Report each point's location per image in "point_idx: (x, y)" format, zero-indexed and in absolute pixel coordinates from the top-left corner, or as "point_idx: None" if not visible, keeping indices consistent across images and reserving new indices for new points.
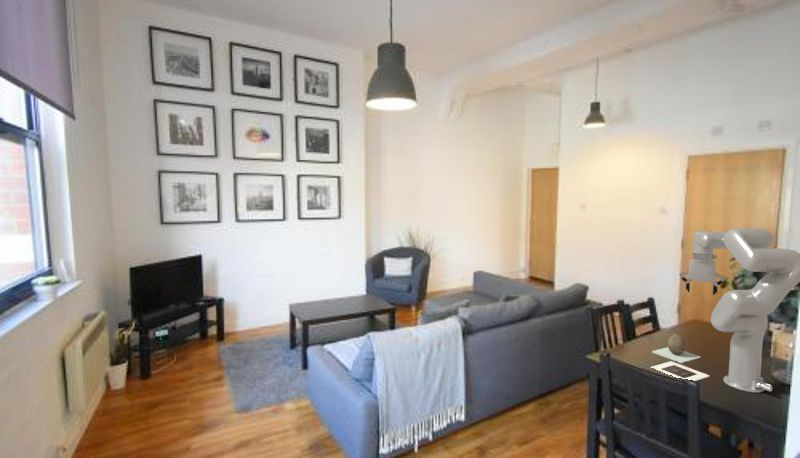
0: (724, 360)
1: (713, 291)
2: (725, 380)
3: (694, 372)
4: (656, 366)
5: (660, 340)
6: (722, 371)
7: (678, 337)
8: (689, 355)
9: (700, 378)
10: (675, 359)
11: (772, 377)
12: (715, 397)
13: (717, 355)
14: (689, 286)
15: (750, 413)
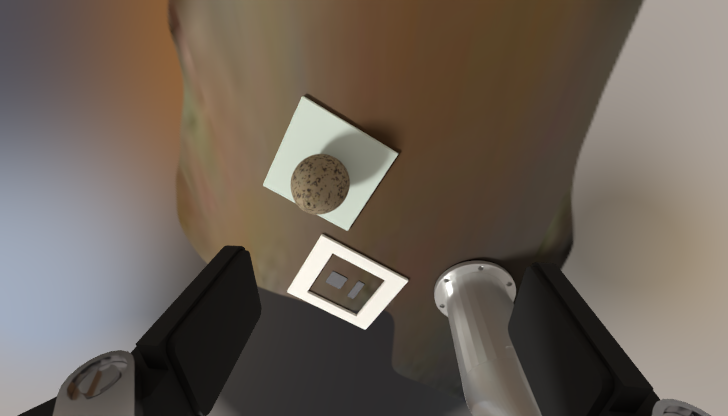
0: (468, 133)
1: (524, 367)
2: (436, 302)
3: (376, 274)
4: (296, 284)
5: (256, 15)
6: (443, 232)
7: (318, 211)
8: (364, 161)
9: (387, 304)
10: (330, 218)
11: (569, 209)
12: (407, 357)
13: (455, 88)
14: (225, 379)
15: (451, 383)
